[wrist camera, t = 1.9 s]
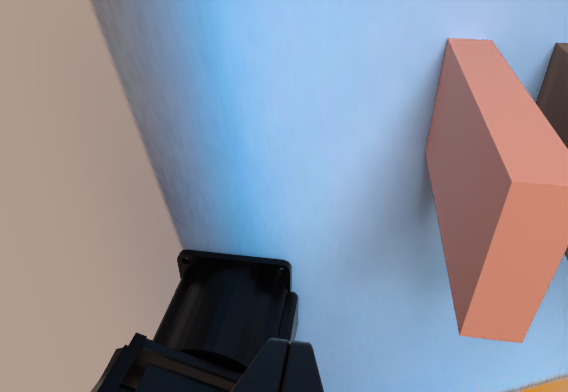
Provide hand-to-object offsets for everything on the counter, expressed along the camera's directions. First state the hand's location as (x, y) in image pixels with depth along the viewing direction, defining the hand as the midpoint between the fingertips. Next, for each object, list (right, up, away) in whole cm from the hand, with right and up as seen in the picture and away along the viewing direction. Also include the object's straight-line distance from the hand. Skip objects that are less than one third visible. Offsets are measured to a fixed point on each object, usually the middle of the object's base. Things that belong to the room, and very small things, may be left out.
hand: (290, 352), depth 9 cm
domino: (+7, +7, +10) cm, 14 cm away
